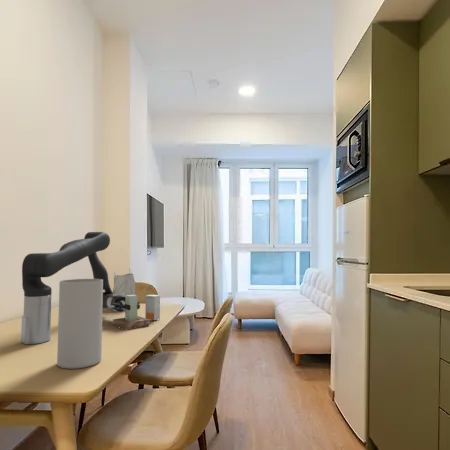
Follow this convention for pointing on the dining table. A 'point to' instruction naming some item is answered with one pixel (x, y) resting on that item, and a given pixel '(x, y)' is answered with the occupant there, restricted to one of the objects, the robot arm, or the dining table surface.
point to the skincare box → (152, 307)
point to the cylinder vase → (80, 323)
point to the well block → (131, 323)
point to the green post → (132, 301)
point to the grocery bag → (124, 284)
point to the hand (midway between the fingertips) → (134, 307)
